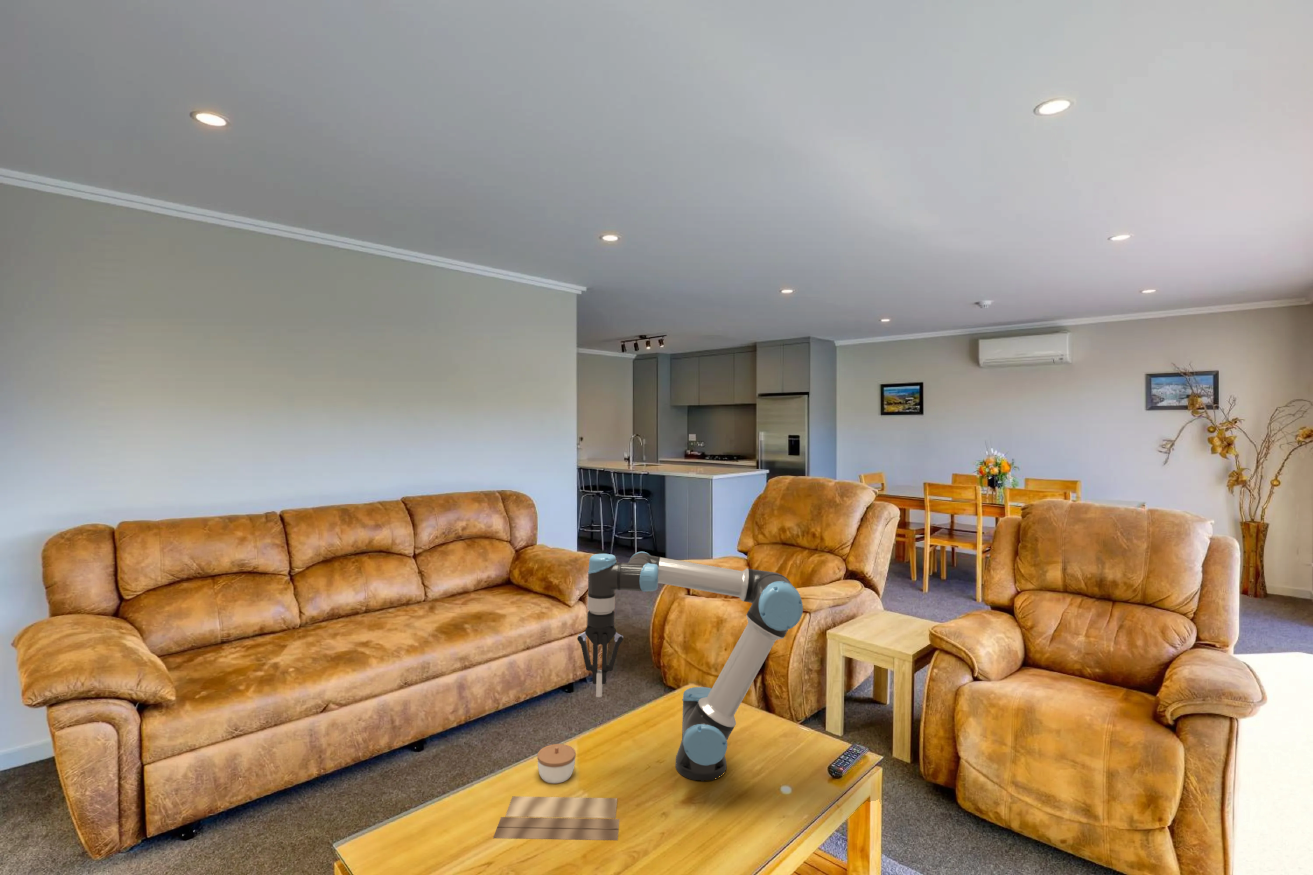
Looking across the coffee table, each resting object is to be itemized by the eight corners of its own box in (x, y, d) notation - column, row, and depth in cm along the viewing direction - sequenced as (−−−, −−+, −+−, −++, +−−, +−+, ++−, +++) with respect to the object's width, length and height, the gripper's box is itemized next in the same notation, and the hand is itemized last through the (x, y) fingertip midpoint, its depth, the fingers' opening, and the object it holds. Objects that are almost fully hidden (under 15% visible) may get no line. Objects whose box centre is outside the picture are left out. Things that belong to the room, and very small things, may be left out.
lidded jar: (567, 793, 168) (568, 759, 168) (530, 788, 170) (531, 754, 170) (580, 772, 179) (580, 740, 179) (545, 767, 181) (546, 735, 181)
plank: (617, 803, 164) (617, 798, 164) (615, 823, 156) (615, 818, 156) (512, 801, 163) (512, 796, 163) (505, 821, 155) (505, 816, 155)
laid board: (619, 824, 155) (619, 818, 155) (617, 846, 147) (617, 839, 147) (500, 822, 155) (501, 816, 155) (492, 844, 147) (492, 837, 147)
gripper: (625, 607, 174) (623, 689, 174) (579, 606, 174) (577, 688, 174) (623, 615, 166) (621, 701, 167) (576, 614, 166) (574, 700, 166)
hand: (599, 694), depth 170 cm, fingers closed
